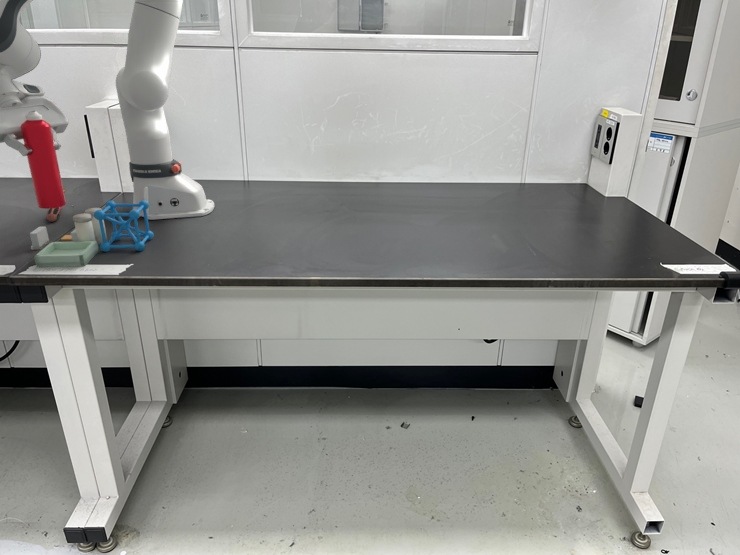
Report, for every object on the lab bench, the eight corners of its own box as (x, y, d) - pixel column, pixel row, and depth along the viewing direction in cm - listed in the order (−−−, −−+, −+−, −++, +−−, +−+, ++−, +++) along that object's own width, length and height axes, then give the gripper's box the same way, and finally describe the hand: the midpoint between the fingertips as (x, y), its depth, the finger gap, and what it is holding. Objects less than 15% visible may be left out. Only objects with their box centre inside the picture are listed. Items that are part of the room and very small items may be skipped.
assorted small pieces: (113, 235, 139) (108, 204, 136) (84, 265, 121) (77, 231, 118) (47, 236, 138) (40, 205, 134) (8, 267, 119) (-2, 232, 116)
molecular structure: (113, 238, 137) (106, 199, 133) (155, 237, 138) (149, 198, 134) (99, 253, 128) (91, 211, 124) (144, 252, 129) (137, 211, 125)
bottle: (34, 208, 120) (12, 113, 111) (43, 201, 124) (23, 109, 116) (61, 208, 120) (41, 113, 112) (69, 201, 125) (51, 109, 117)
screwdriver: (59, 200, 168) (56, 190, 167) (69, 199, 169) (67, 189, 168) (45, 224, 147) (43, 213, 145) (58, 223, 148) (56, 213, 146)
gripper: (-47, 93, 106) (1, 149, 107) (47, 86, 124) (87, 134, 124) (-56, 115, 110) (-9, 170, 110) (37, 105, 127) (77, 152, 128)
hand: (43, 151), depth 117 cm, fingers closed on bottle, 5 cm apart
